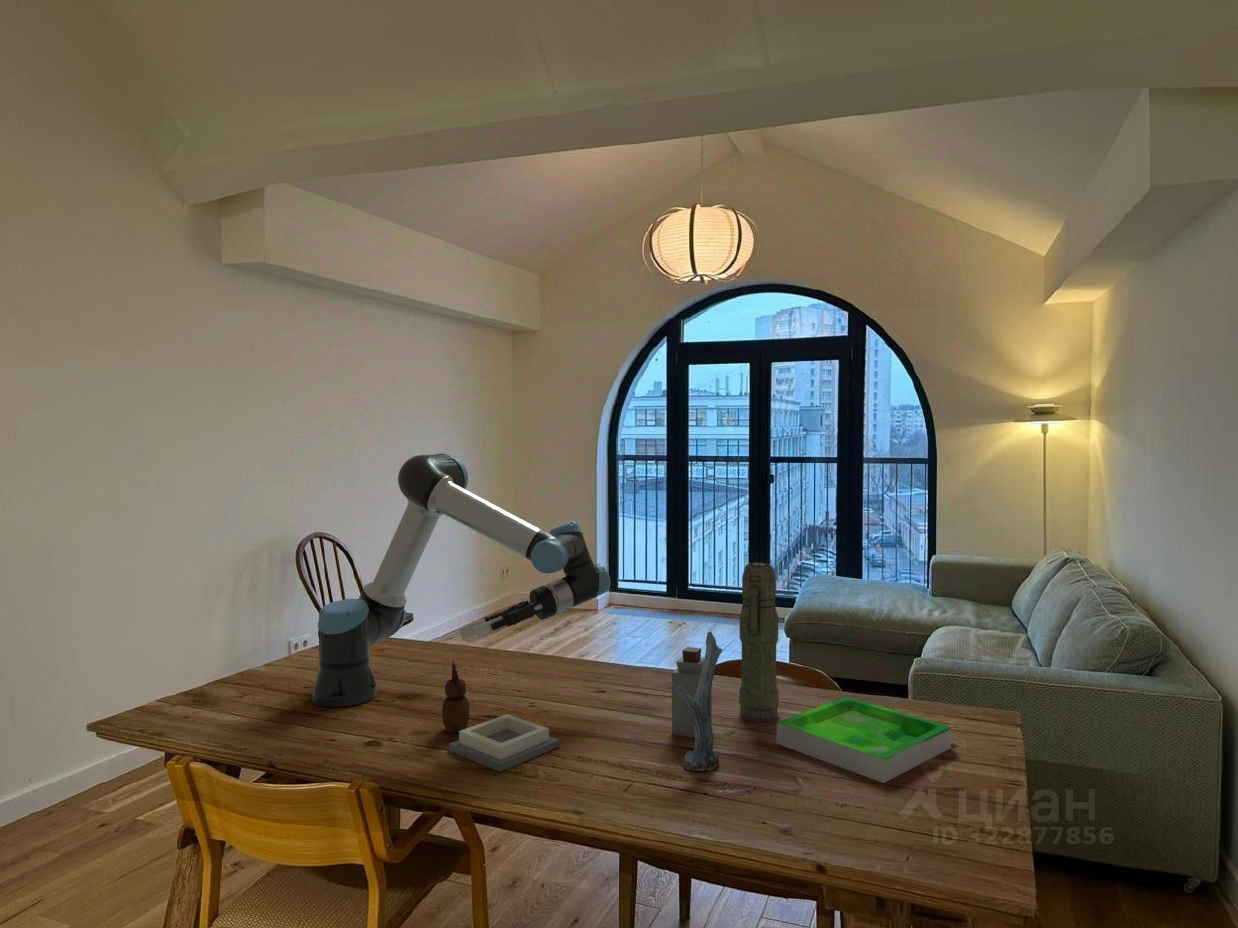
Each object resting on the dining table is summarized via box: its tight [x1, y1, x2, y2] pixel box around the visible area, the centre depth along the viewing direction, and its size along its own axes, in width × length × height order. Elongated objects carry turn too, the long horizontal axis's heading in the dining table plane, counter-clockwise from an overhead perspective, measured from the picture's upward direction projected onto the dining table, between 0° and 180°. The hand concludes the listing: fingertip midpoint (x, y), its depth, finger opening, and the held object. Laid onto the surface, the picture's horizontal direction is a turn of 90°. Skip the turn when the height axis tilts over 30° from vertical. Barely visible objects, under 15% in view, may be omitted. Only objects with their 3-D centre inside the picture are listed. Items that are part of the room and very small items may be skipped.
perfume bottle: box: [671, 646, 713, 739], centre depth 174 cm, size 7×7×18 cm
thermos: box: [738, 561, 780, 722], centre depth 183 cm, size 9×12×35 cm
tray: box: [776, 696, 952, 784], centre depth 165 cm, size 25×25×5 cm
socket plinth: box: [448, 713, 560, 773], centre depth 165 cm, size 16×16×4 cm
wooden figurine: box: [441, 660, 470, 734], centre depth 175 cm, size 7×6×15 cm
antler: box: [675, 631, 723, 772], centre depth 157 cm, size 12×8×25 cm
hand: (468, 633), depth 180 cm, fingers open, 13 cm apart
